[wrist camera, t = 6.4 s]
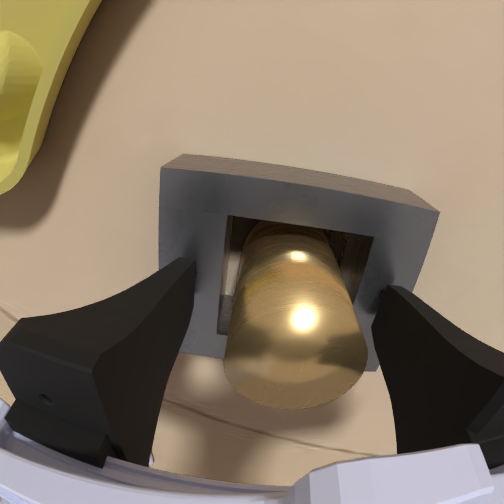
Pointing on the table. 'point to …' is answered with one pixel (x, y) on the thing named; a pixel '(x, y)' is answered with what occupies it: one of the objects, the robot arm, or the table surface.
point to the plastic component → (33, 73)
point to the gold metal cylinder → (292, 321)
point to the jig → (293, 212)
